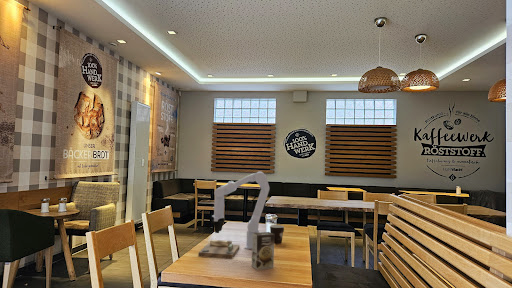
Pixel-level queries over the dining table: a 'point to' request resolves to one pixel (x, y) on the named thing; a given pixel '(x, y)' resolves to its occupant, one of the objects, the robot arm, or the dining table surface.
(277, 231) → the coffee mug
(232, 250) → the wooden serving board
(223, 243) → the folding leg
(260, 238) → the coffee box
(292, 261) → the dining table surface
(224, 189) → the robot arm
